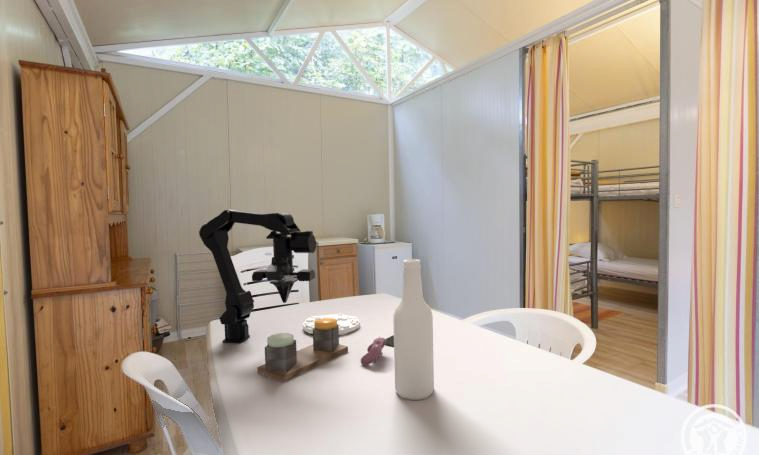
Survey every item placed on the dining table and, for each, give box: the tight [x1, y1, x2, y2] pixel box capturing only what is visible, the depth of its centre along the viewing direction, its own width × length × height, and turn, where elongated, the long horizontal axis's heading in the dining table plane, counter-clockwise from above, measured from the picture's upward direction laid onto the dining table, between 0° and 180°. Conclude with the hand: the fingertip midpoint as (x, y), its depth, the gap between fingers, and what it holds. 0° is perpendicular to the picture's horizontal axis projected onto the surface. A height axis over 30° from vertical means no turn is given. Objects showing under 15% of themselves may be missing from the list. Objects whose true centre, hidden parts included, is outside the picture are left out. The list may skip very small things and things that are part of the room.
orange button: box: [314, 318, 337, 330], centre depth 112 cm, size 7×7×8 cm
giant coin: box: [302, 312, 361, 336], centre depth 136 cm, size 20×20×3 cm
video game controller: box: [360, 336, 386, 366], centre depth 106 cm, size 10×5×7 cm, turn 169°
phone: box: [384, 334, 394, 348], centre depth 122 cm, size 7×1×15 cm
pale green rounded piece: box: [266, 332, 295, 347], centre depth 99 cm, size 7×7×8 cm
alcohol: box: [392, 258, 435, 401], centre depth 86 cm, size 9×9×30 cm
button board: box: [257, 324, 349, 383], centre depth 105 cm, size 10×25×8 cm, turn 143°
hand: (284, 302), depth 120 cm, fingers closed
